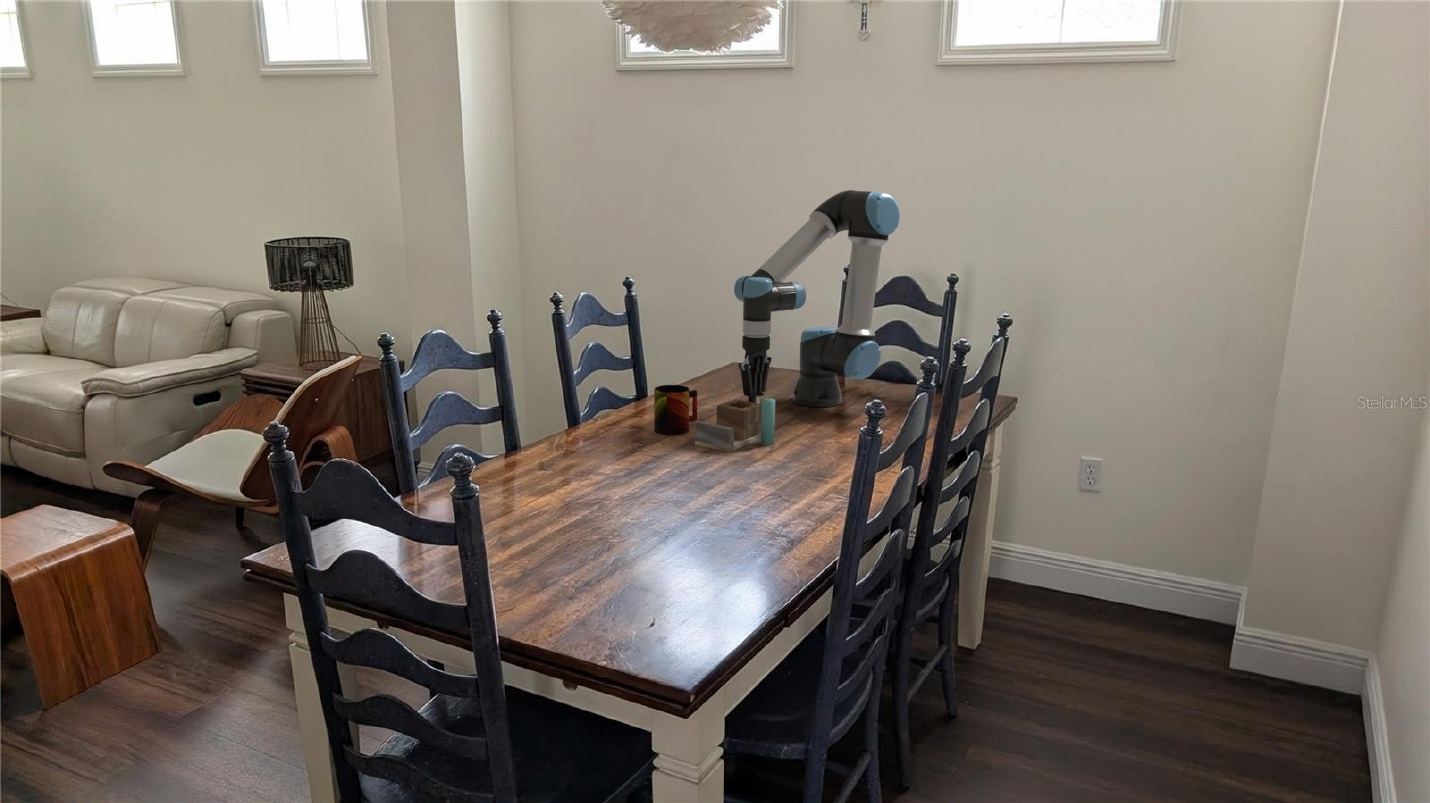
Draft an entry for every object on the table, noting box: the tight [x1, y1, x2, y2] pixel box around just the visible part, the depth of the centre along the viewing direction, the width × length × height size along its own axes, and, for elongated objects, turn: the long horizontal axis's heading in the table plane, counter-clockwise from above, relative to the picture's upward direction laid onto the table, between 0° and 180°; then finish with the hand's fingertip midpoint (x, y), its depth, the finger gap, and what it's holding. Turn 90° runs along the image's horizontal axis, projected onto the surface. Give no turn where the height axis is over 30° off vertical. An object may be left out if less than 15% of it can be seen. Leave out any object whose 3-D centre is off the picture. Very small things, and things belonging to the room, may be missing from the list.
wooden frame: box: [694, 420, 761, 453], centre depth 269 cm, size 18×11×6 cm, turn 144°
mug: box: [653, 384, 698, 437], centre depth 278 cm, size 10×14×12 cm
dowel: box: [760, 397, 776, 446], centre depth 266 cm, size 4×4×12 cm
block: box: [715, 398, 762, 440], centre depth 271 cm, size 9×9×8 cm
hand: (753, 418), depth 277 cm, fingers closed
